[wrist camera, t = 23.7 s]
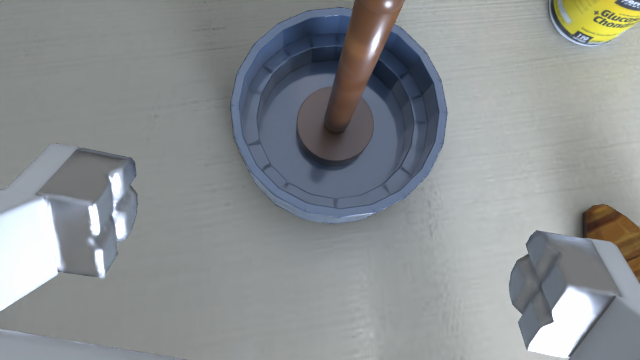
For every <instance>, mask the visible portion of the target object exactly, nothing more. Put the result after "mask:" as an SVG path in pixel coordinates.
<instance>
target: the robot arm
mask: <svg viewBox="0 0 640 360" xmlns="http://www.w3.org/2000/svg"><path fill="white" fill-rule="evenodd" d="M135 177H136V167H135V161H134V160H133V159H132V158H131V157H126V156H121V155H116V154H111V153H106V152H101V151H96V150H91V149H86V148H79V147H75V146H69V145H64V144H58V143H56V144H51V145H49V146H48V147H47V148H46V149H45V150H44V151H43V152H42V153H41V154H40V155H39V156H38V157H37V158H36V159H35V160H34V161H33V162H32V163H31V164H30V165H29V166H28V167H27V168H26V169H25V170H24V171H23V172H22V173H21V174H20V175H19V176H18V177H17V178H16V179H15V180H14V181H13V182H12V183H11V184H10V185H9V186H8V187H7V188H6V189H5V190H4V189H0V311H1V310H3V309H4V308H6V307H7V306H9V305H11V304H12V303H14V302H15V301H17V300H18V299H20V298H22V297H23V296H25V295H26V294H28V293H29V292H31V291H32V290H34V289H36V288H37V287H39V286H40V285H42V284H43V283H45V282H47V281H48V280H50V279H51V278H53V277H54V276H56V275H57V274H58V272H63V273H70V274H77V275H84V276H91V277H98V278H104V276H105V275H106V273H107V271H108V270H109V268H110V266H111V264H112V263H113V261H114V259H115V258H116V256H117V254H118V250H117V243H118V242H120V241H122V240H124V239H126V238H127V237H128V235H129V233H130V232H131V230H132V228H133V225H134V221H135V218H136V215H137V206H138V197H137V193H136V191H135V190H134V189H133V188H132V186H131V183H132V182H133V180H134V179H135ZM526 247H527V250H528V253H529V254H527V255H526V256H524V257H522V258H520V259H519V260H517V261H516V264H515V266H514V268H513V270H512V272H511V276H510V282H509V292H510V297H511V301H512V304H513V306H514V307H515V308H516V309H517V310H518V311H519V312H520V313H521V314H522V317H521V318H520V320H519V322H518V324H519V327H520V330H521V333H522V336H523V339H524V343H525V346H526V349H527V350H529V351H535V352H540V353H545V354H550V355H555V356H560V357H565V358H569V360H640V283H639V282H638V280H637V278H636V277H635V275H634V273H633V272H632V270H631V268H630V267H629V265H628V264H627V262H626V260H625V259H624V257H623V255H622V254H621V252H620V250H619V249H618V247H617V246H616V245H615V244H613V243H612V242H609V241H603V240H596V239H589V238H585V239H584V238H578V237H572V236H567V235H561V234H555V233H549V232H543V231H538V230H537V231H536V232H534V233H533V234H532V235H531V236H530V238H529V240H528V242H527V243H526ZM0 360H186V359H180V358H174V357H168V356H162V355H156V354H150V353H144V352H138V351H131V350H125V349H119V348H113V347H107V346H101V345H95V344H89V343H83V342H77V341H71V340H65V339H58V338H52V337H46V336H40V335H34V334H28V333H22V332H16V331H10V330H4V329H0Z"/></svg>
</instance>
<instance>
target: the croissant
mask: <svg viewBox="0 0 640 360" xmlns="http://www.w3.org/2000/svg"><path fill="white" fill-rule="evenodd" d="M583 226H584V236H585V238H589V239H596V240H603V241H609V242H612V243H613V244H615V245H616V246H617V247H618V249H619V250H620V252H621V254H622V255H623V257H624V259H625V260H626V262H627V264H628V265H629V267H630V268H631V270H632V272H633V273H634V275H635V277H636V278H637V280H638V282H639V283H640V228H639V227H638V226H636V225H635V224H634V223H633V222H632V221H631V220H630V219H629V218H627V217H626V216H624V215H623V214H621V213H619V212H618V211H616V210H615V209H613V208H612V207H610V206H608V205H604V204H600V205H594V206H592V207H591V208H589V209H588V210H587V211H586V212H584V213H583Z"/></svg>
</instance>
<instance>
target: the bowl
mask: <svg viewBox="0 0 640 360" xmlns="http://www.w3.org/2000/svg"><path fill="white" fill-rule="evenodd" d="M352 10H353V9H349V8H343V7H337V8H327V9H318V10H309V11H306V12H304V13H301V14H299V15H297V16H294V17H292V18H290V19H287V20H285V21H283V22H280V23H279V24H277V25H276V26H274V27H273V28H272V29H271V30H270V31H269V32H267V33H266V34H265V35H264V36H263V37H262V38H261V39H259V40H258V41H257V42H256V43H255V44H254V45H253V46H252V48H251V50H250V51H249V53H248V55H247V57H246V58H245V60H244V62H243V63H242V65H241V67H240V68H239V70H238V72H237V74H236V79H235V84H234V88H233V93H232V98H231V103H230V110H231V118H232V126H233V134H234V139H235V142H236V145H237V147H238V149H239V152H240V154H241V156H242V159H243V161H244V163H245V165H246V167H247V169H248V171H249V173H250V175H251V177H252V179H253V181H254V183H255V184H256V185H257V186H258V187H259V188H260V189H261V190H262V192H263V193H264V194H265V195H266V196H267V197H268V198H269V199H270V200H271V201H272V202H273V203H274V204H276V205H277V206H279V207H280V208H282V209H284V210H286V211H288V212H290V213H292V214H294V215H296V216H297V217H299V218H301V219H305V220H311V221H316V222H322V223H328V224H338V223H345V222H352V221H359V220H363V219H365V218H367V217H369V216H371V215H373V214H375V213H377V212H379V211H381V210H383V209H385V208H387V207H389V206H391V205H393V204H395V203H397V202H399V201H400V200H402V199H404V198H405V197H407V196H408V195H409V194H410V193H411V192H412V191H413V190H414V189H415V188H416V187H417V186H418V185H419V184H420V183H421V182H422V181H423V180H424V179H425V178H426V177H427V176H428V174H429V173H430V171H431V169H432V167H433V165H434V163H435V161H436V159H437V157H438V154H439V152H440V150H441V148H442V146H443V143H444V136H445V128H446V120H447V107H446V102H445V96H444V91H443V86H442V81H441V78H440V77H439V75H438V73H437V71H436V69H435V67H434V66H433V64H432V62H431V60H430V58H429V56H428V54H427V53H426V52H425V50H424V49H423V48H422V47H421V46H420V45H419V44H418V43H417V42H416V41H415V40H414V39H413V38H412V37H410V36H409V35H408V34H407V33H406V32H405V31H404V30H403V29H402V28H401V27H399V26H397V25H395V24H394V26H393V28H392V30H391V32H390V34H389V37H388V39H387V41H386V43H385V45H384V48H383V50H382V52H381V54H380V56H379V59H378V61H377V63H376V65H375V67H374V70H373V72H372V74H371V76H370V78H369V81H368V83H367V85H366V87H365V90H364V92H363V94H362V96H361V97H362V98H363V99H364V100H365V101H366V102H367V104H368V106H369V107H370V109H371V112H372V115H373V120H374V130H373V134H372V137H371V140H370V142H369V144H368V145H367V147H366V148H365V149H364V151H363V152H362V154H361V155H360V156H359V157H357V158H356V159H355V160H353V161H352V162H350V163H348V164H345V165H341V166H327V165H322V164H320V163H317V162H316V161H314V160H312V159H311V158H310V157H308V156H307V155H306V154H305V152H304V151H303V150H302V148H301V146H300V144H299V142H298V139H297V133H296V126H297V116H298V112H299V109H300V107H301V105H302V103H303V102H304V101H305V99H306V98H307V97H308V96H309V95H311V94H312V93H313V92H315V91H317V90H319V89H322V88H325V87H331V86H333V82H334V78H335V75H336V71H337V67H338V63H339V59H340V55H341V52H342V48H343V44H344V40H345V36H346V33H347V29H348V25H349V21H350V17H351V14H352Z"/></svg>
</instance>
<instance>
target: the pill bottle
mask: <svg viewBox="0 0 640 360" xmlns="http://www.w3.org/2000/svg"><path fill="white" fill-rule="evenodd" d="M549 12H550V16H551V20H552V22H553V24H554V26H555V27H556V29H557V30H558V31H559V32H560V34H561V35H563V36H564V37H565V38H566V39H568V40H570V41H572V42H574V43H576V44H579V45H583V46H597V45H602V44H604V43H607V42H609V41H611V40H612V39H614V38H615V37H617V36H618V35H620V34H621V33H623V32H624V31H626V30H627V29H629V28H630V27H632V26H633V25H635V24H636V23H638V22H639V21H640V0H550V1H549Z"/></svg>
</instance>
